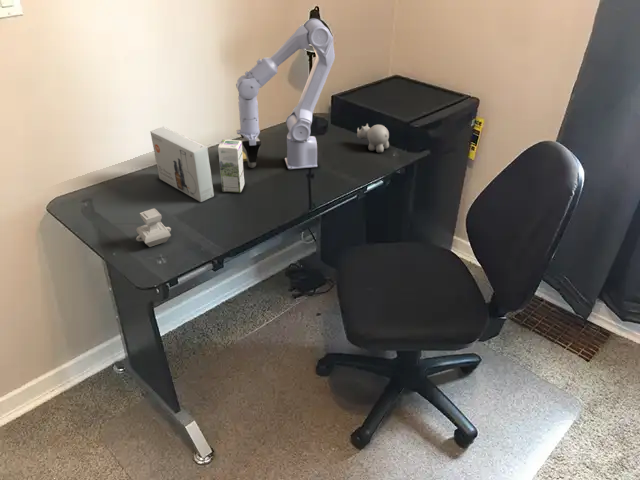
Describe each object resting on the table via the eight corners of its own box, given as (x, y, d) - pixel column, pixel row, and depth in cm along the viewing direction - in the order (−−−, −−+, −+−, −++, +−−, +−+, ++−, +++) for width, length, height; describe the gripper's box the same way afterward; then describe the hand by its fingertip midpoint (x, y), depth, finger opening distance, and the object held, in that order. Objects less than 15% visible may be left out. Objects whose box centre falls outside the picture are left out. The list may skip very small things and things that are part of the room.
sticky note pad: (241, 151, 190) (240, 149, 189) (249, 160, 184) (249, 157, 184) (219, 156, 187) (219, 153, 187) (227, 165, 181) (226, 162, 181)
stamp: (167, 230, 148) (162, 202, 144) (176, 242, 144) (172, 213, 139) (133, 240, 144) (127, 212, 139) (142, 253, 139) (136, 224, 135)
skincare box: (157, 179, 172) (149, 130, 164) (172, 174, 176) (165, 125, 167) (199, 203, 160) (193, 151, 152) (214, 196, 164) (209, 145, 155)
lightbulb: (246, 173, 177) (244, 140, 171) (239, 165, 181) (237, 133, 175) (264, 169, 179) (263, 137, 173) (257, 162, 184) (255, 130, 178)
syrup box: (245, 184, 170) (241, 139, 163) (240, 193, 166) (237, 147, 158) (226, 183, 171) (222, 138, 163) (221, 192, 166) (217, 146, 158)
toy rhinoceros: (363, 139, 200) (364, 116, 195) (392, 148, 194) (394, 124, 189) (351, 146, 195) (352, 122, 190) (380, 155, 189) (382, 131, 184)
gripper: (233, 109, 176) (236, 149, 183) (237, 126, 164) (241, 168, 172) (256, 107, 177) (258, 147, 185) (262, 124, 165) (264, 166, 173)
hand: (251, 157), depth 178 cm, fingers closed on lightbulb, 6 cm apart
